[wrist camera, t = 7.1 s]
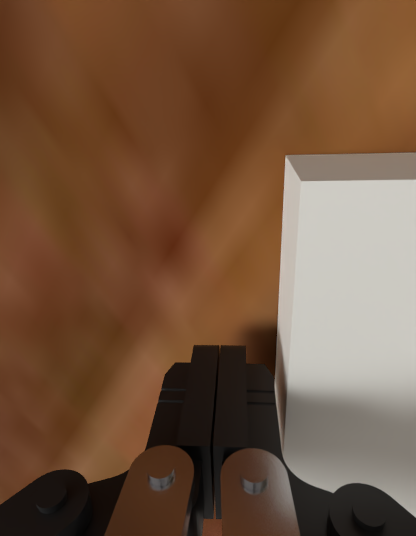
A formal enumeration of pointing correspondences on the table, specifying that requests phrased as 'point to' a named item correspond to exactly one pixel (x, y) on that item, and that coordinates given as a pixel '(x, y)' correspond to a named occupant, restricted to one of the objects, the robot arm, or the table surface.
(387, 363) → the t block
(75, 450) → the table surface
